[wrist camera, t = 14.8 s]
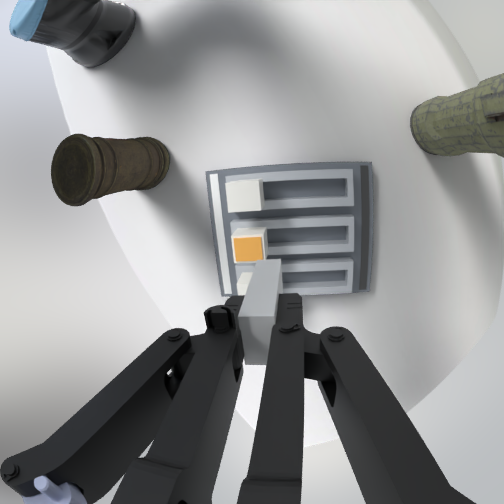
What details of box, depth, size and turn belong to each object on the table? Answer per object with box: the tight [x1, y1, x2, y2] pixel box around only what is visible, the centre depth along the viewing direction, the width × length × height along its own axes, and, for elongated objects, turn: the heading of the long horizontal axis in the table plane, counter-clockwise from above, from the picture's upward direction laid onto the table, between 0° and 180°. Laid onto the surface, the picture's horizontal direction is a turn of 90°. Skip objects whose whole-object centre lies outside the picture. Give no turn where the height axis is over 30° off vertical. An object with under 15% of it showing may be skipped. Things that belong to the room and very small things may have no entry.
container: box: [51, 134, 169, 206], centre depth 33 cm, size 9×9×18 cm
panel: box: [206, 162, 373, 296], centre depth 37 cm, size 20×24×9 cm
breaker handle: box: [231, 227, 268, 263], centre depth 37 cm, size 4×4×7 cm
